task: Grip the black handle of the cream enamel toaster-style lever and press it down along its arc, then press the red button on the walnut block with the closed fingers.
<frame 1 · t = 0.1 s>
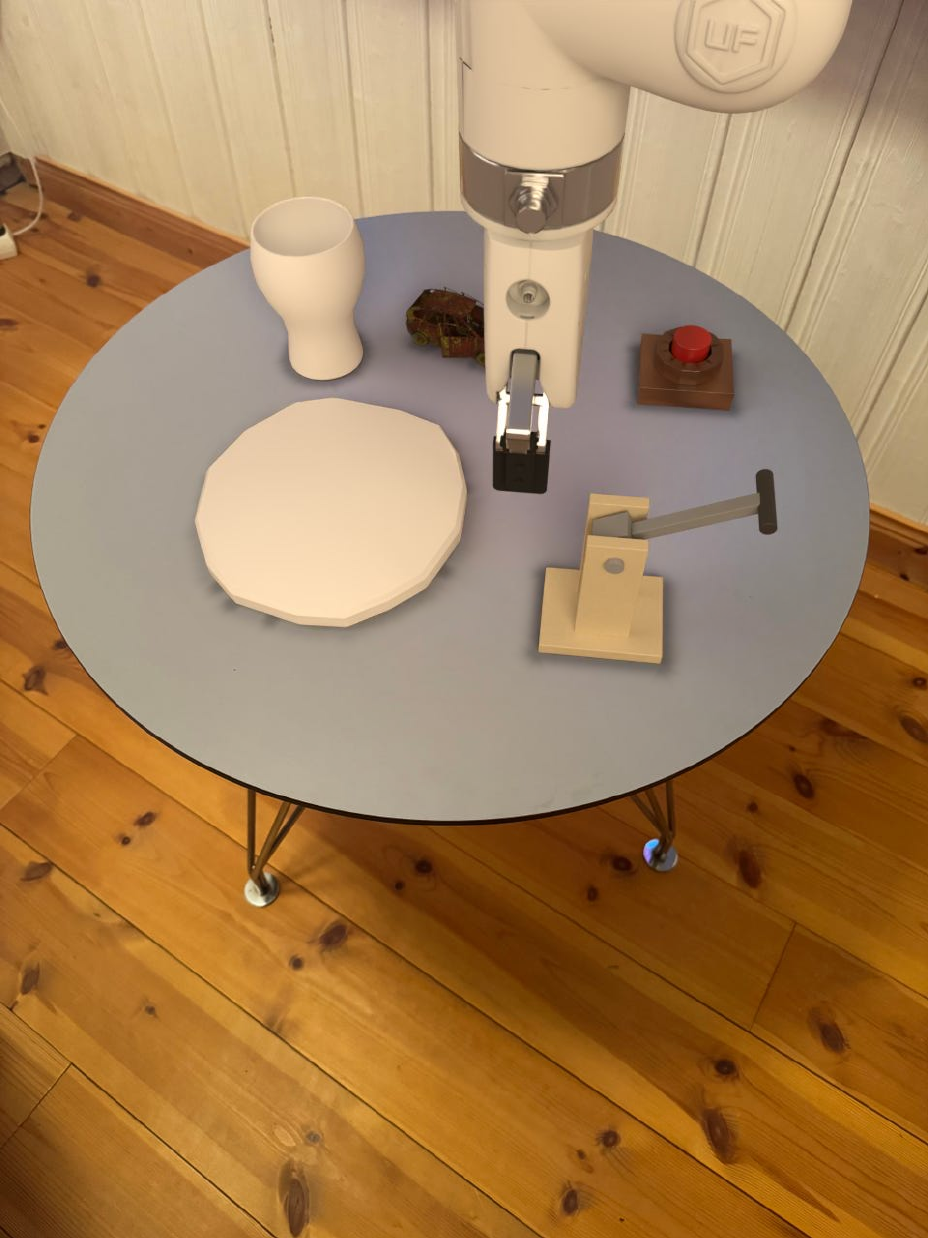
hand: (527, 429, 57), 24 cm above the table, tool pointing down, fingers open, 9 cm apart
cup: (326, 356, 97), on the table
decorative plate: (333, 513, 85), on the table
toaster bracket: (601, 618, 78), on the table
lever: (682, 520, 66), point 13 cm above the table, hinge at 28.0°
button: (691, 344, 90), point 4 cm above the table, slide at 0.1 cm
button block: (683, 379, 94), on the table
toy car: (462, 346, 97), on the table
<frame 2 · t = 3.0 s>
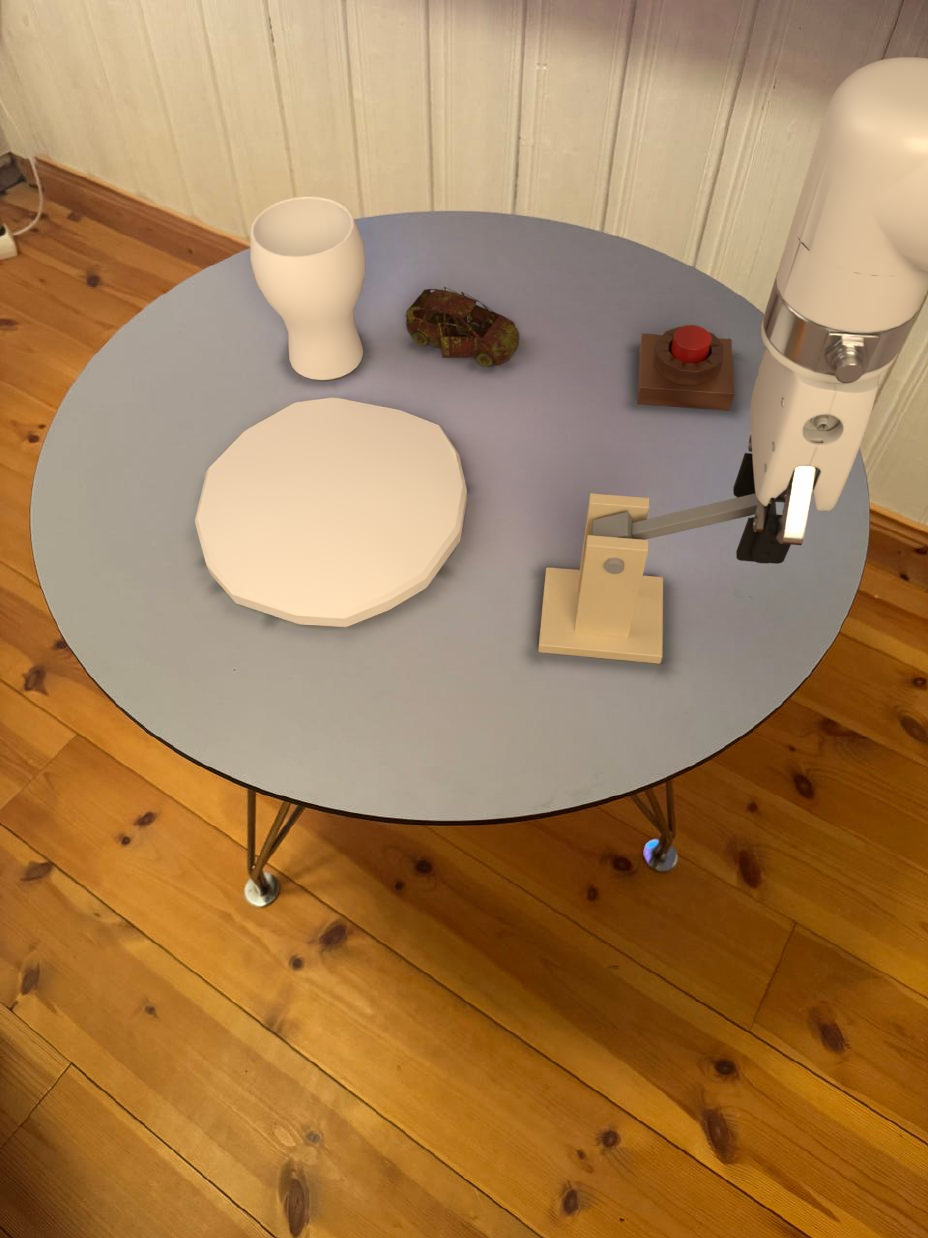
hand: (757, 524, 66), 14 cm above the table, tool pointing down, fingers closed on lever, 5 cm apart
lever: (682, 520, 66), point 13 cm above the table, hinge at 28.0°, touching gripper
everything else where it was.
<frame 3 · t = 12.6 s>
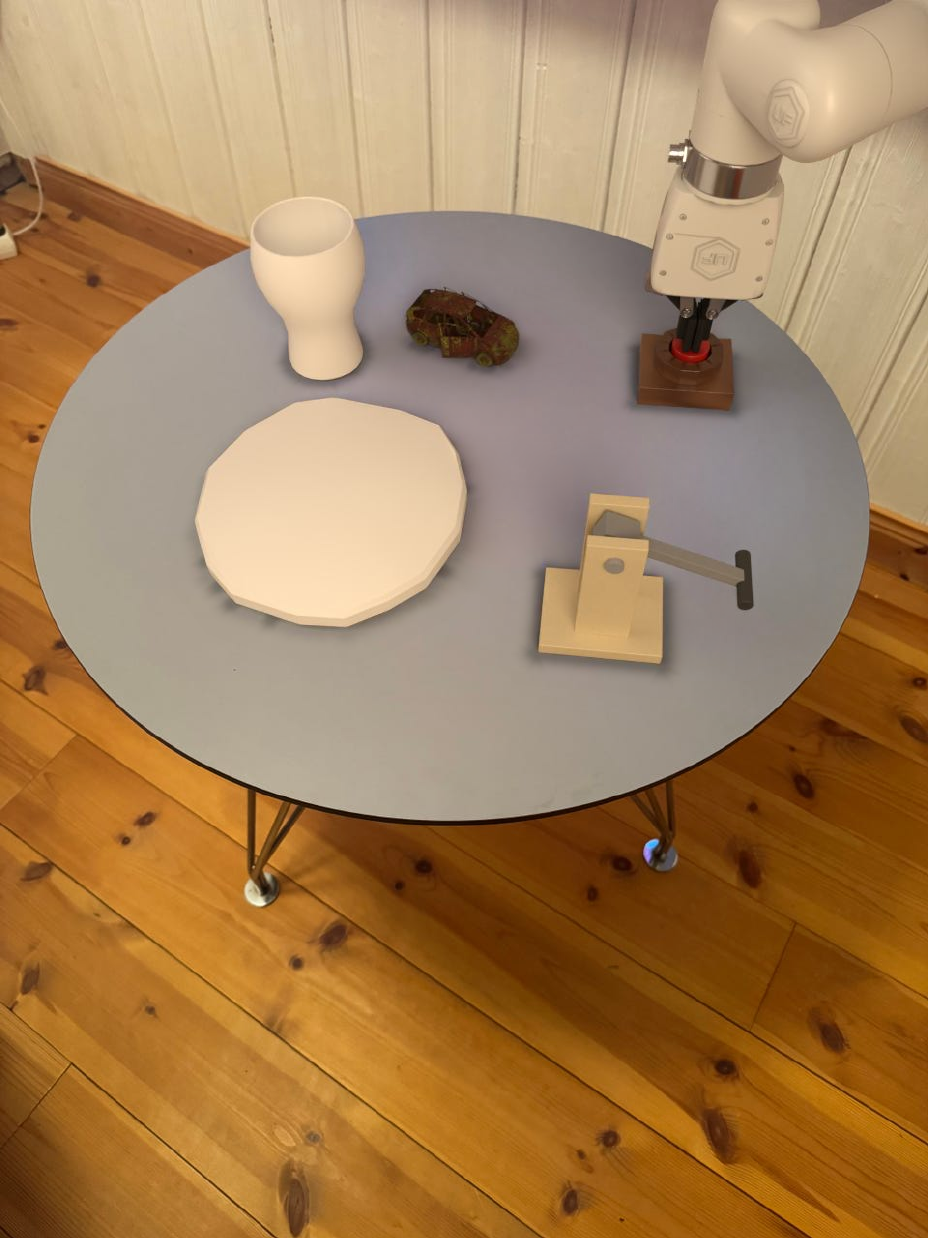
hand: (690, 342, 90), 5 cm above the table, tool pointing down, fingers closed
lever: (676, 556, 70), point 9 cm above the table, hinge at -21.0°
button: (689, 351, 91), point 4 cm above the table, slide at -0.7 cm, touching gripper
everything else where it was.
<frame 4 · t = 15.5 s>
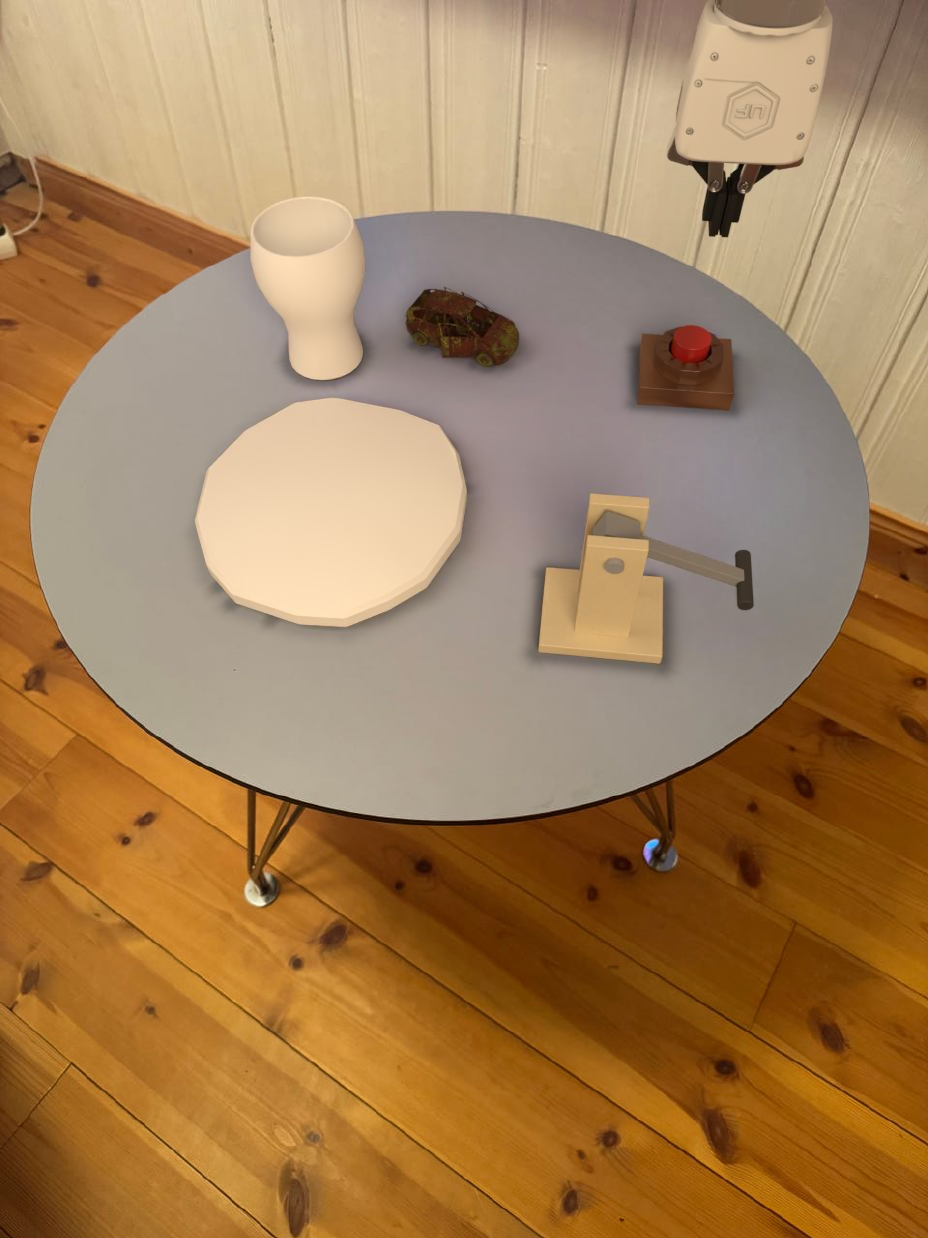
hand: (717, 226, 79), 17 cm above the table, tool pointing down, fingers closed
button: (691, 344, 90), point 4 cm above the table, slide at 0.1 cm
everything else where it was.
at the end: lever at -21° (first picture: +28°); button pushed in 1.1 cm at the most during the clip, back to where it started at the end; button slide at 0.1 cm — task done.
